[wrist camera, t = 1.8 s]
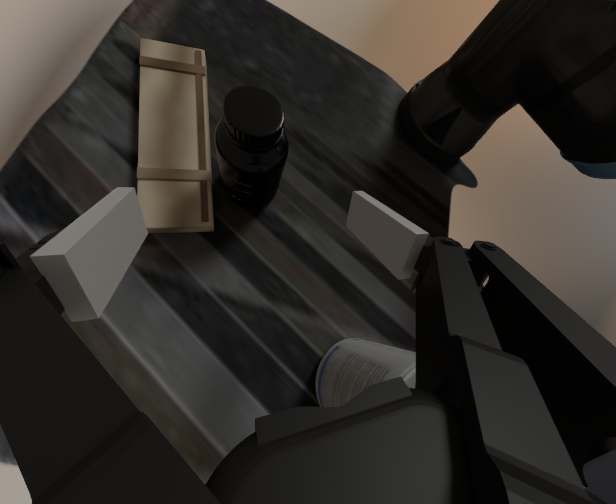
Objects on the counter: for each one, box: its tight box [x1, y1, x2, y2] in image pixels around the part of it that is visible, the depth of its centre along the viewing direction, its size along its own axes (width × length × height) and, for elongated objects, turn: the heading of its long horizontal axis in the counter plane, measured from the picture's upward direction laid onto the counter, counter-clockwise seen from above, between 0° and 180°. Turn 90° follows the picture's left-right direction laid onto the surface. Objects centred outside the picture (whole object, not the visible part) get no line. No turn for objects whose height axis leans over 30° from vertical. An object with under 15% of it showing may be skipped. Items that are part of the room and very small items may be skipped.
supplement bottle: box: [214, 85, 289, 208], centre depth 23 cm, size 7×7×12 cm
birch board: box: [137, 38, 214, 233], centre depth 27 cm, size 7×24×2 cm, turn 7°
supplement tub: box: [316, 338, 416, 407], centre depth 20 cm, size 10×10×15 cm
